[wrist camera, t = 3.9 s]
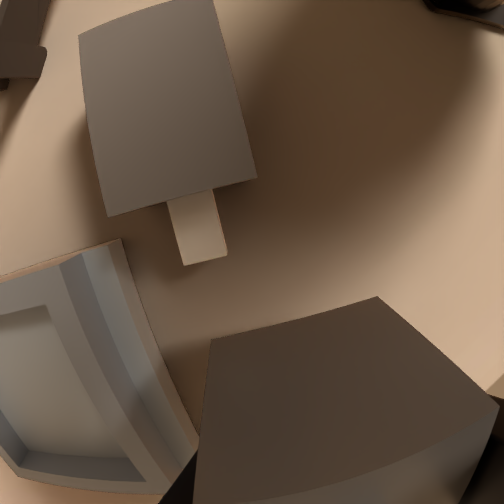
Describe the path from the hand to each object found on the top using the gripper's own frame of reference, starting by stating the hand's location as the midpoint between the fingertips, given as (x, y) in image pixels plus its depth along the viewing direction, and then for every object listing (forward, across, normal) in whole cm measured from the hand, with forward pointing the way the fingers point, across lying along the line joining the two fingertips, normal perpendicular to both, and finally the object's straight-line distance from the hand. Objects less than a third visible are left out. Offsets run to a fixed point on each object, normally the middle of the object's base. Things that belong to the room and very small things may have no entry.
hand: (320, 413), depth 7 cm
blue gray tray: (+4, +11, 0) cm, 12 cm away
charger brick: (+1, 0, 0) cm, 1 cm away
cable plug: (+4, +2, -8) cm, 10 cm away
